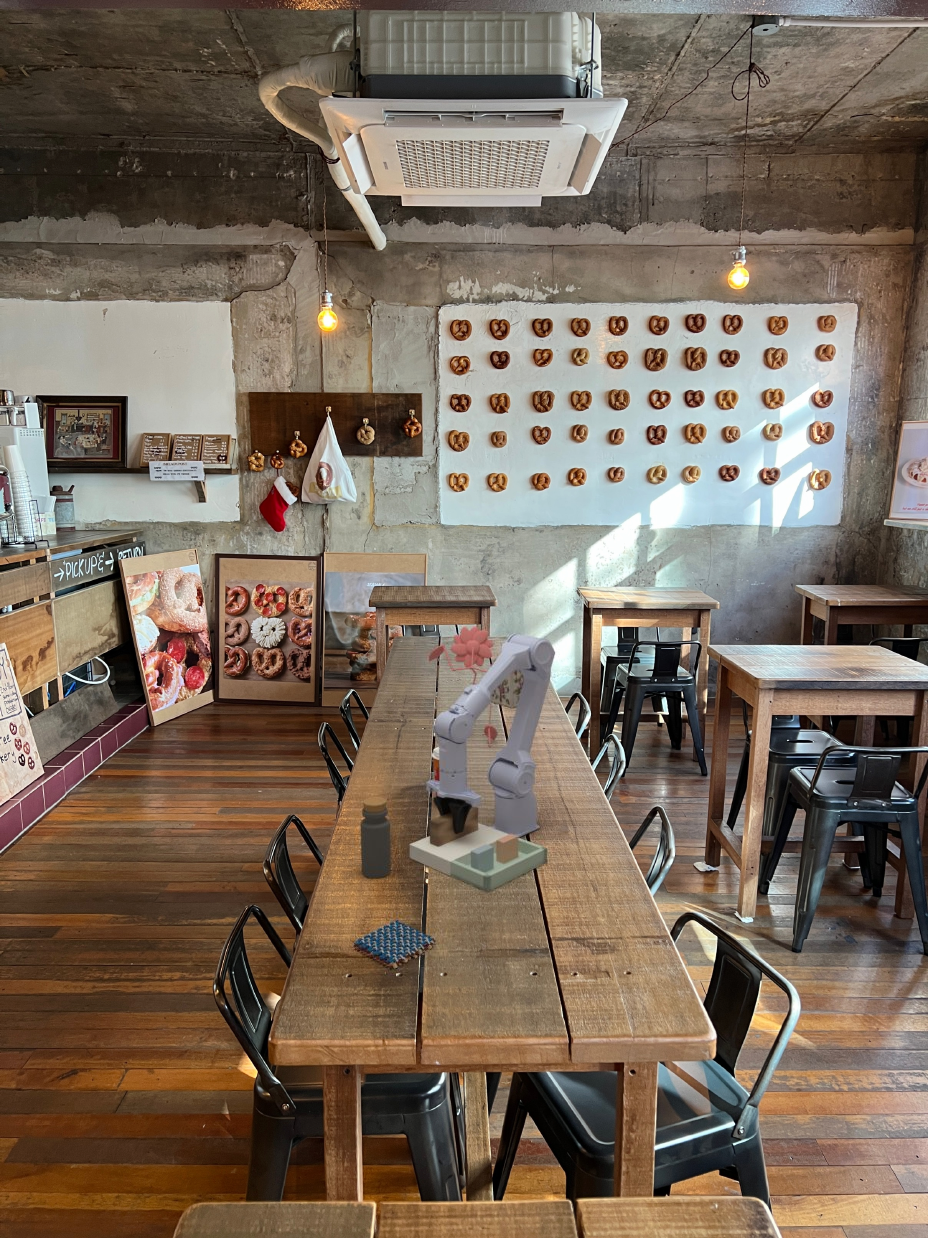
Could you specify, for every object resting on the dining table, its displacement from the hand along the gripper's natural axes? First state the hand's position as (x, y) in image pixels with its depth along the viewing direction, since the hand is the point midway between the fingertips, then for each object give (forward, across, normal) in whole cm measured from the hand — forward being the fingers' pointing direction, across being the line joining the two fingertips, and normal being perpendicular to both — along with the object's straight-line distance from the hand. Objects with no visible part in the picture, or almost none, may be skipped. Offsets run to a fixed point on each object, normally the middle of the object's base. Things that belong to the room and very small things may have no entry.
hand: (453, 830), depth 184 cm
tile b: (+2, +11, -4) cm, 12 cm away
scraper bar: (+1, 0, 0) cm, 1 cm away
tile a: (+2, +11, +4) cm, 12 cm away
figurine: (+5, -51, +59) cm, 78 cm away
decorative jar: (+5, -72, +101) cm, 124 cm away
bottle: (+5, -4, -18) cm, 19 cm away
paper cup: (+5, -19, +17) cm, 26 cm away
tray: (+4, +13, 0) cm, 14 cm away
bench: (+4, +2, 0) cm, 5 cm away
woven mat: (+5, +20, -34) cm, 40 cm away
